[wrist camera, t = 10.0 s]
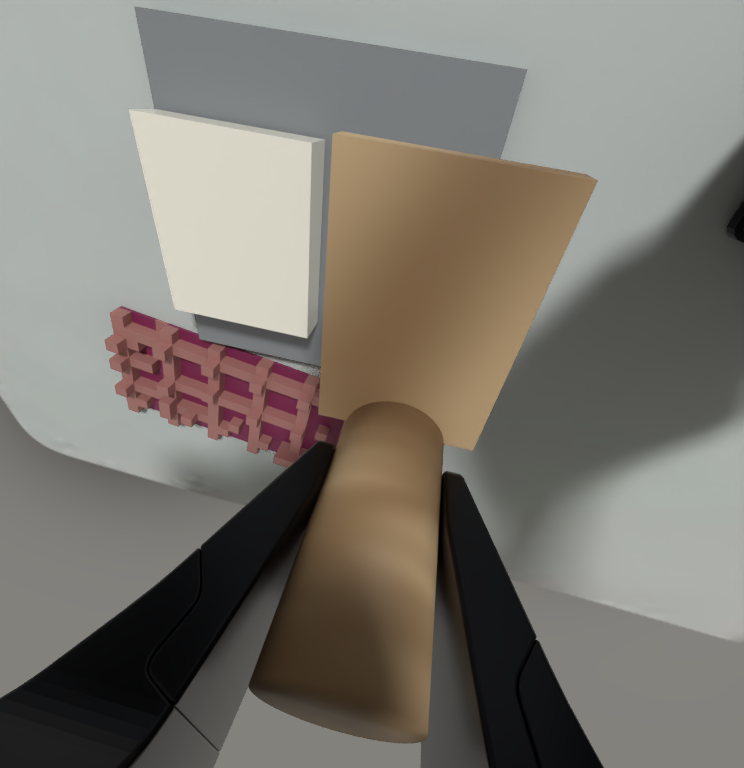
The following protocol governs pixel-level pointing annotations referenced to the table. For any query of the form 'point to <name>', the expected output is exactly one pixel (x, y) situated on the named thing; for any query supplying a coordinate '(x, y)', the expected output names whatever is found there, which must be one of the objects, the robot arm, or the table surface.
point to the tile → (235, 217)
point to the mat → (320, 109)
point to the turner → (404, 410)
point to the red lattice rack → (217, 387)
